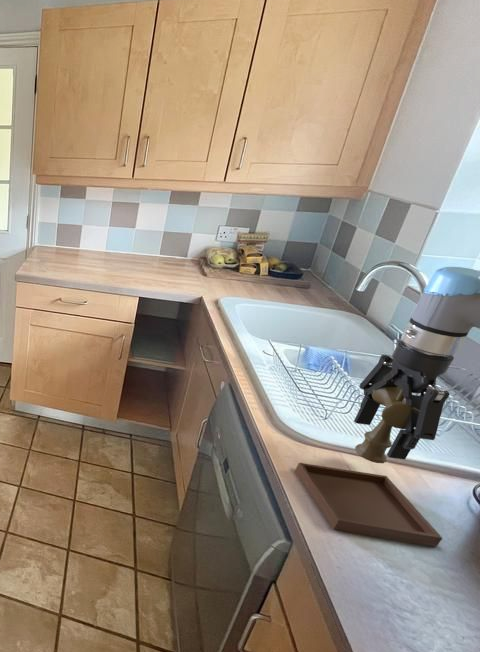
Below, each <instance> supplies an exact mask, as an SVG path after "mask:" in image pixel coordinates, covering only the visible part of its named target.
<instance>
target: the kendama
mask: <svg viewBox="0 0 480 652" xmlns="http://www.w3.org/2000/svg"><path fill="white" fill-rule="evenodd" d="M372 397H373V399H374V400H375V401H376V402H377V403H378V404H380V406H383V407H384V408H383V409H382V410H381V411H382V412H381V416H380V417H381V418H382V419H381V420H380V421H379V422H378V424H377V425H376V426H375V427H374V428H373V429H371V430H370V431H365V432H364V439H363V441H362V442H361V443H359V444H356V445H355V448H354V450H355V452H356V454H357V455H359V457H360V458H363V459H364V460H366V461H369V462H371V463H375V464H384V463H386V462H387V455H386V451H387V449H390V448H391V446H392V444H393V442H392V441H391V439H390V438H391V433H392V429H393V428H395V429H400V430H401V429H402V430H405V425H406V420H407V418H408V416H409V414H410V412H411V406H410V405H407V404H406V398H404V396H403V390H402V389H401V388H400V387H399V386H398V387H384V388H380V389H378V390H376V391H375V390H374V389H373V393H372ZM412 410H413V411H414V412H415V413H416V414H418V415H419V412H420V411H418V410H417V409H416V408H412Z"/></svg>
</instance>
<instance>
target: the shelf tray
mask: <svg viewBox="0 0 480 652" xmlns="http://www.w3.org/2000/svg"><path fill="white" fill-rule="evenodd" d="M294 472H295V473H296V475H297V477H298V478H299V479H300V481H301V482H302V485H304V487H305V489H306V491H307V492H308V493H309V495H310V496H311V498H312V499H313V501H314V502H315V504H316V505H317V507H318V508H319V510H320V511H321V513H322V515H323V516H324V518H325V519H326V521H327V522H328V524H329V526H331V528H332V529H333V530H334V531H340V532H346V533H352V534H358V535H362V536H363V535H364V536H369V537H373V538H374V537H375V538H380V539H386V540H392V541H396V542H397V541H398V542H404V543H409V544H415V545H420V546H424V547H425V546H426V547H431V548H437V547H438V545H439V544H440V543H441V541H442V540H443V537H442V536H441V535H440V533H439V532H438V531H437V530H436V529H435V527H434V526H433V525H431V523H430V522H429V521H428V520H427V519H426V518H425V517H424V516H423V514H422V513H421V512H420V511H419V510H418V509H417V508H416V507H415V506H414V504H413V503H411V502H410V500H409V499H408V498H407V497H406V496H405V495H404V494H403V493H402V491H401V490H400V489H399V488H398V487H397V486H396V485H395V483H393V482H392V480H391V479H390V478H389V477H388V476H387V475H383V474H376V473H369V472H363V471H356V470H350V469H343V468H338V467H337V468H336V467H331V466H323V465H317V464H312V463H303V462H298V464H297V465H296V467H295V470H294Z"/></svg>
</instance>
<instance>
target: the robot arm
mask: <svg viewBox="0 0 480 652" xmlns="http://www.w3.org/2000/svg"><path fill="white" fill-rule="evenodd" d="M473 328H477V329H480V270H477V269H473V268H469V267H461V266H444V267H441V268H437V269H436V270H435V271H434V273H433V275H432V276H431V278H430V280H429V281H428V283H427V285H426V286H425V287H423V291H422V293H421V295H420V298H419V300H418V302H417V304H416V306H415V309H414V310H413V313H412V315H411V317H410V319H409V321H408V323H407V325H406V327H405V329H404V331H403V333H402V335H401V337H400V340H401V341H397V344H396V346H395V348H394V350H393V352H392V354H380V357H379V360H378V363H377V364H376V365H375V366H374V367H373V368H372V369H371V371H370V372H369V373H368V374H367V375H366V376H365V378H364V379H363V380H362V381H361V382H360V384H359V389H361V390H363V398H362V400H361V403H360V405H359V406H360V408H359V409H358V412H357V414H356V416H355V418H354V420H353V422H354V423H355V424H359V425H365V426H371V424H372V422H373V420H374V418H375V416H376V414H377V413H378V410H379V408H380V407H381V404H378V403H377V402H376V401H375V400H374V399H373V397H372V393H373V389H374V390H375V391H376V390H378V389H380V388H384V387H398V386H399V387H400V388H401V389H402V390H403V396H404V398H406V404H407V405H410V406H411V412H410V414H409V416H408V418H407V420H406V425H405V429H400V430H399V432H398V433H397V435H396V436H395V439H394V441H393V442H392V446H391V447H390V448H388V449H389V450H388V451H387V453H386V457H388V458H390V459H397V460H398V459H399V460H406V459H407V457H408V455H409V454H410V452H411V450H414V449H415V448H416V446H417V445H418V443H419V442H420V439H421V440H427V441H434V440H435V439H436V436H437V432H438V428H439V424H440V420H441V416H442V412H443V408H444V404H445V403H446V401H447V400H448V398H449V397H450V392H449V391H448V390H444V389H440V388H439V387H438V386H437V378H438V377H439V376H441V375H444V374H446V373H447V371H448V370H449V368H450V367H451V365H452V363H453V361H454V359H455V357H454V356H455V355H457V354H458V353H459V351H460V349H461V347H462V345H463V344H464V342H465V340H466V338H467V336H468V334H469V333H470V331H471V330H472V329H473ZM418 394H419V395H418ZM412 408H416V409H417V410H418V411H420V412H419V415H418V414H416V413H415V412H414V411H413V410H412Z"/></svg>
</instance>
